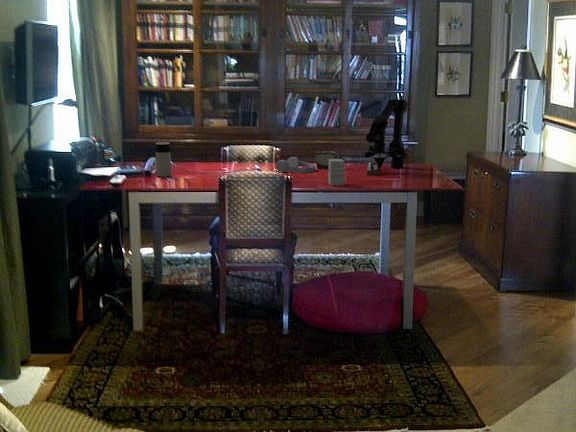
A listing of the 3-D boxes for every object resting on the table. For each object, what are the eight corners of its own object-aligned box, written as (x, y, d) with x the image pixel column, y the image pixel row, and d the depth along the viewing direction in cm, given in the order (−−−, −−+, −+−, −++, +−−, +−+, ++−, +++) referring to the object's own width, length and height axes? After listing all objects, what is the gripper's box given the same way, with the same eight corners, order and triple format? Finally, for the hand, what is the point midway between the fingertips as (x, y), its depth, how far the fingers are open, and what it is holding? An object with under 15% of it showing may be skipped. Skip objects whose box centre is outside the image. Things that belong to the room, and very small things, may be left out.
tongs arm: (372, 168, 460) (372, 164, 460) (376, 168, 460) (376, 164, 459) (374, 175, 437) (374, 170, 436) (378, 175, 436) (378, 170, 436)
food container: (336, 167, 466) (336, 150, 464) (335, 169, 460) (336, 152, 458) (315, 167, 467) (315, 150, 465) (314, 169, 461) (314, 151, 459)
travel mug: (168, 177, 429) (167, 143, 425) (154, 176, 430) (153, 143, 427) (173, 175, 437) (172, 142, 433) (159, 174, 438) (158, 141, 435)
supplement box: (327, 183, 410) (328, 159, 408) (342, 183, 411) (342, 158, 409) (329, 185, 403) (330, 160, 401) (344, 185, 404) (344, 160, 401)
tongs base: (367, 168, 465) (367, 162, 464) (375, 168, 465) (375, 162, 464) (367, 175, 438) (367, 168, 437) (375, 175, 437) (375, 169, 436)
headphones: (273, 172, 449) (306, 176, 442) (274, 159, 448) (307, 163, 441) (288, 167, 470) (320, 171, 463) (289, 155, 468) (321, 159, 461)
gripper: (390, 140, 455) (389, 167, 458) (358, 140, 451) (358, 168, 454) (397, 141, 444) (396, 169, 447) (365, 142, 440) (365, 170, 443)
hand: (379, 169), depth 448 cm, fingers closed
